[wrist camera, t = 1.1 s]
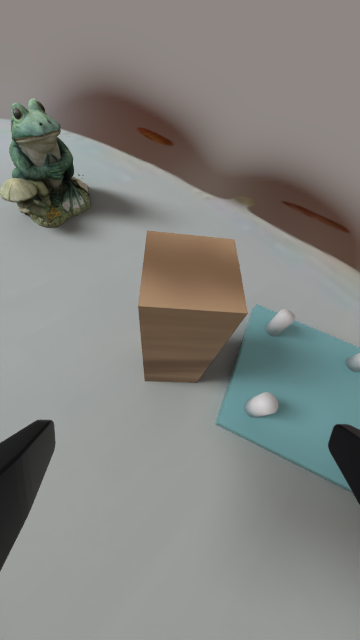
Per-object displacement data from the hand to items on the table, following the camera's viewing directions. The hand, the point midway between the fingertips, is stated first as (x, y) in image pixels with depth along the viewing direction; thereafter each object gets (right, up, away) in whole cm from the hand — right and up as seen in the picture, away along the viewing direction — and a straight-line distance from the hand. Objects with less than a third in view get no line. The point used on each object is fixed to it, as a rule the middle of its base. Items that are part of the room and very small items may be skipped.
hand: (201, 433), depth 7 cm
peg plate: (+12, -3, +15) cm, 20 cm away
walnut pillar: (-2, 0, +15) cm, 15 cm away
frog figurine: (-19, +20, +25) cm, 37 cm away
